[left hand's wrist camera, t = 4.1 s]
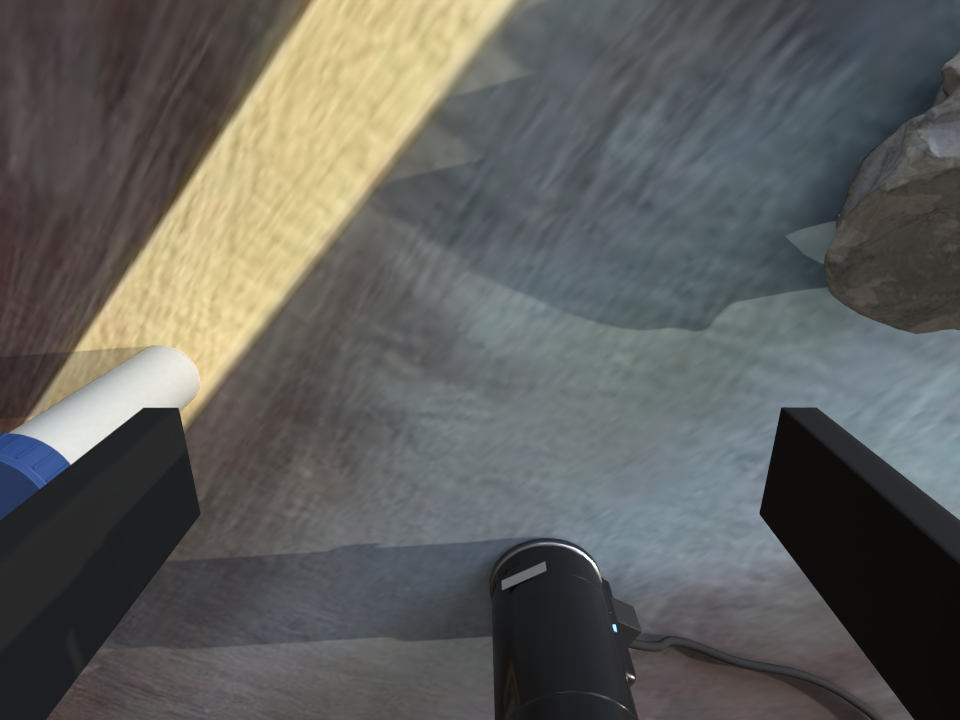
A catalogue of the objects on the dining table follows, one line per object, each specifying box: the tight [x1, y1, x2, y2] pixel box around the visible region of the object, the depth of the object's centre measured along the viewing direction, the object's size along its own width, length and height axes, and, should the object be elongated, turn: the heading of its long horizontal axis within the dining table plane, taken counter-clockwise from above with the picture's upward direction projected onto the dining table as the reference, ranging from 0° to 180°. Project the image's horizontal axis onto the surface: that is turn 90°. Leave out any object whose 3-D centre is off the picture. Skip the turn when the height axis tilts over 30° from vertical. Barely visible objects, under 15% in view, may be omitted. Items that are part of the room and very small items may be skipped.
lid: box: [0, 433, 71, 520], centre depth 28 cm, size 6×6×2 cm
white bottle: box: [10, 346, 200, 464], centre depth 35 cm, size 5×5×16 cm
